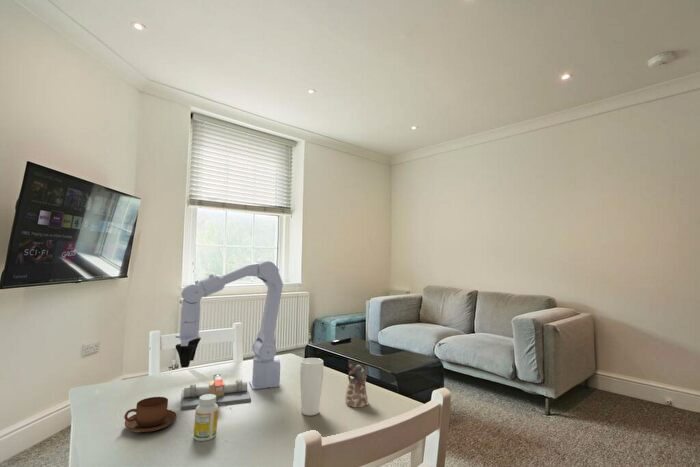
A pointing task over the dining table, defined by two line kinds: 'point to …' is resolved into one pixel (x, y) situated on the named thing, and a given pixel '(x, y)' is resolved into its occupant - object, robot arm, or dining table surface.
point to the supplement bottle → (206, 418)
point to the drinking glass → (311, 385)
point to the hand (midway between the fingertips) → (187, 363)
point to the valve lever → (218, 383)
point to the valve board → (218, 400)
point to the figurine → (356, 387)
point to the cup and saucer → (150, 415)
